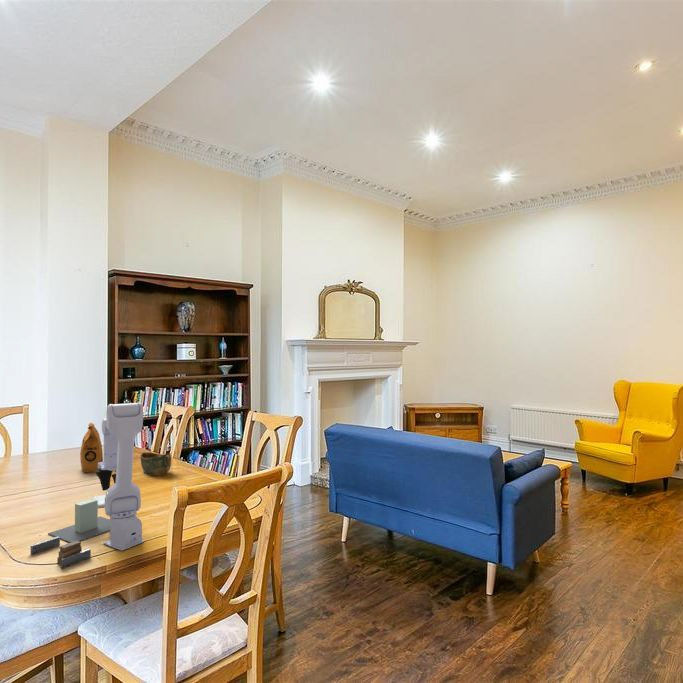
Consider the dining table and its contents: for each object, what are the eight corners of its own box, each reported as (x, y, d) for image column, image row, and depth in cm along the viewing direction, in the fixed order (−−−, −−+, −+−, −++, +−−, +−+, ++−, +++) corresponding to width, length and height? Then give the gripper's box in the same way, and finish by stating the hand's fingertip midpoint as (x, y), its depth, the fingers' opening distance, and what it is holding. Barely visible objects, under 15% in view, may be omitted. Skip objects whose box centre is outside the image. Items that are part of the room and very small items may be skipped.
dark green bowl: (142, 480, 221) (142, 457, 221) (139, 469, 239) (140, 449, 239) (172, 477, 226) (172, 455, 226) (167, 467, 244) (168, 447, 244)
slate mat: (124, 525, 168) (124, 524, 168) (72, 544, 152) (72, 542, 152) (100, 517, 175) (100, 516, 175) (48, 534, 160) (48, 533, 160)
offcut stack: (82, 557, 143) (82, 541, 143) (62, 565, 138) (62, 548, 138) (78, 555, 144) (78, 539, 144) (57, 563, 139) (57, 546, 139)
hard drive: (93, 496, 195) (95, 505, 185) (116, 493, 199) (119, 501, 189) (93, 500, 195) (95, 509, 185) (116, 497, 199) (119, 506, 189)
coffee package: (78, 474, 230) (78, 427, 230) (81, 467, 242) (81, 422, 242) (101, 471, 234) (102, 425, 234) (103, 465, 245) (103, 421, 245)
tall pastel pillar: (97, 527, 165) (97, 500, 165) (80, 533, 160) (80, 505, 160) (92, 525, 167) (92, 498, 167) (74, 531, 162) (75, 503, 161)
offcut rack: (90, 557, 143) (90, 549, 143) (62, 568, 136) (62, 559, 136) (58, 544, 152) (58, 536, 152) (30, 553, 145) (30, 545, 145)
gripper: (89, 452, 172) (89, 491, 172) (114, 457, 164) (114, 498, 164) (108, 448, 178) (108, 486, 178) (133, 453, 170) (133, 492, 170)
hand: (112, 491), depth 171 cm, fingers open, 7 cm apart
